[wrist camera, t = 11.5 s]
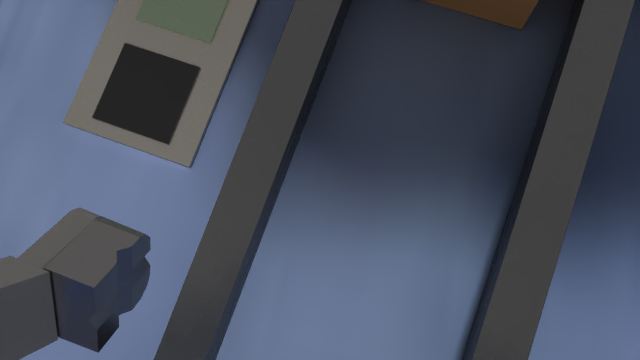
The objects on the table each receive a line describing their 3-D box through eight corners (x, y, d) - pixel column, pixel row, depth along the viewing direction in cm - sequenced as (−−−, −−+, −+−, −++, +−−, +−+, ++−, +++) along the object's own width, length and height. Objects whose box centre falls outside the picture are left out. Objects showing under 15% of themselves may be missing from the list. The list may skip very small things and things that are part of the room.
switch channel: (447, 576, 18) (470, 656, 14) (-42, 365, 20) (-141, 383, 16) (658, -119, 21) (723, -212, 17) (222, -229, 24) (194, -332, 20)
